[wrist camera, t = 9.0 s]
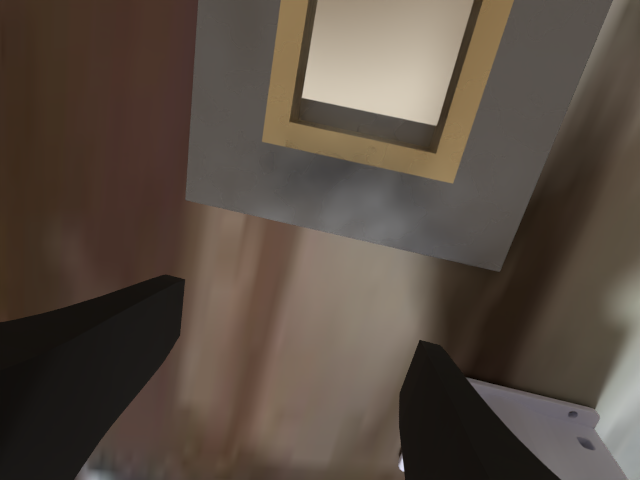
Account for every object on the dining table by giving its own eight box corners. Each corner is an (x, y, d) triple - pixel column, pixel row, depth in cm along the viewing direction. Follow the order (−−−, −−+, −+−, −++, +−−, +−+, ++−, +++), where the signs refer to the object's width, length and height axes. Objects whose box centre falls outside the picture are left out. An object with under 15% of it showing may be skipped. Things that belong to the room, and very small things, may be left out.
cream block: (442, 12, 15) (485, -38, 9) (414, 116, 16) (436, 125, 11) (344, -7, 15) (328, -68, 10) (324, 97, 17) (301, 98, 11)
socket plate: (655, -135, 14) (729, -195, 11) (493, 263, 19) (514, 291, 17) (223, -210, 14) (187, -285, 11) (193, 195, 20) (165, 210, 17)
